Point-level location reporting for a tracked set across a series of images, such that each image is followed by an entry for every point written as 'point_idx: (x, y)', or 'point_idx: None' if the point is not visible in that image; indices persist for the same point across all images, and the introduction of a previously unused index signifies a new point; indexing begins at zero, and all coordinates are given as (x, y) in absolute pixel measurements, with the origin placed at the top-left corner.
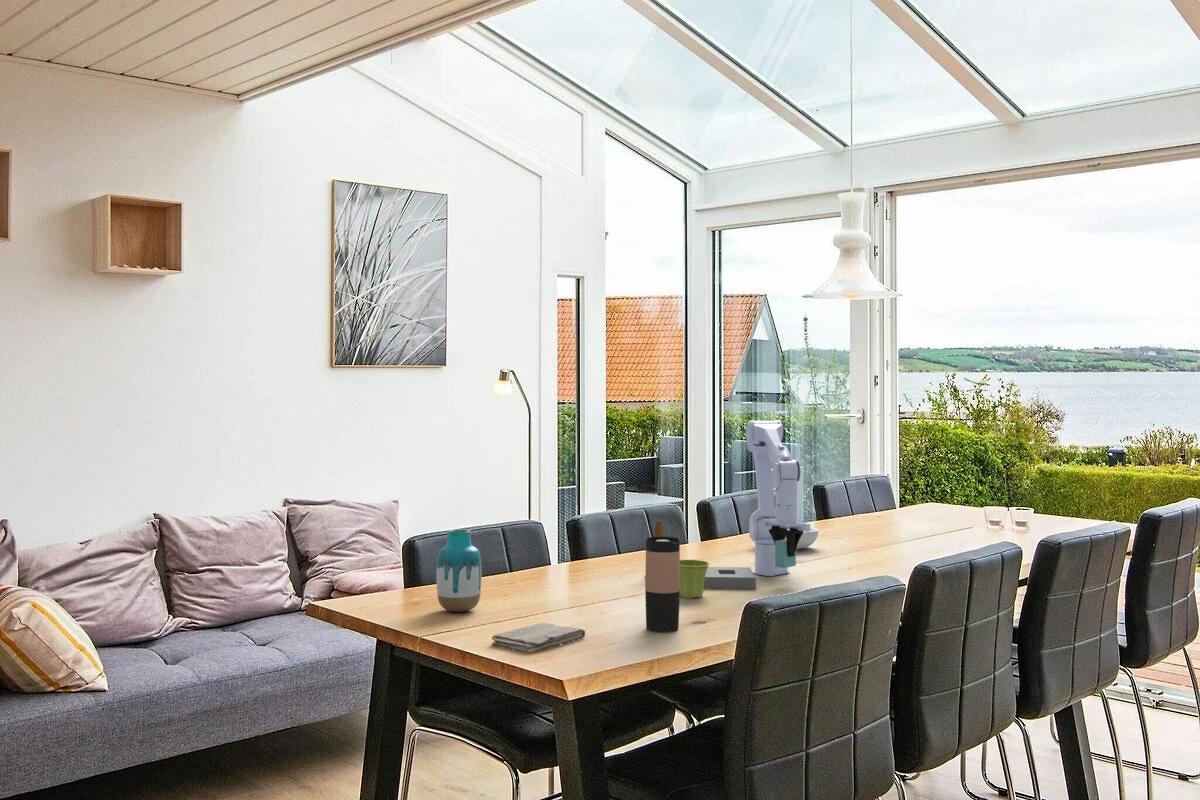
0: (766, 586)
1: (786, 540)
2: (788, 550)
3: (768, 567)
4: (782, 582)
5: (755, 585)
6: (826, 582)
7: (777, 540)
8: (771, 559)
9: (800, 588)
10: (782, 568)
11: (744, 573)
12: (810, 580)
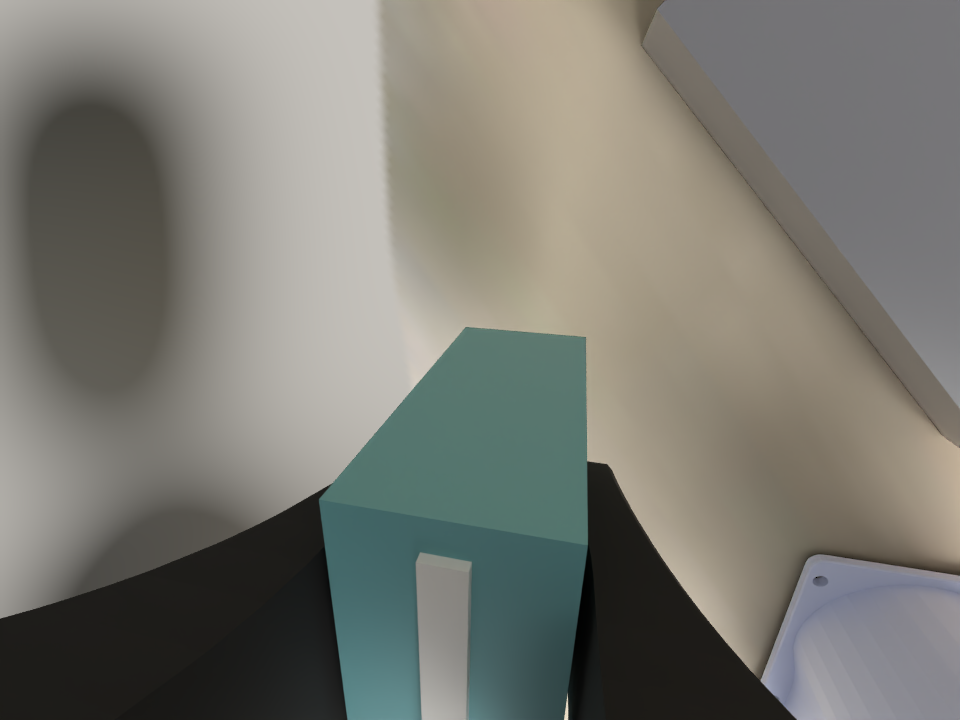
0: (630, 229)
1: (420, 669)
2: None
3: (875, 635)
4: (623, 441)
5: (647, 36)
6: None
7: (561, 591)
8: (891, 713)
9: (410, 341)
10: (800, 709)
11: (921, 137)
12: None
